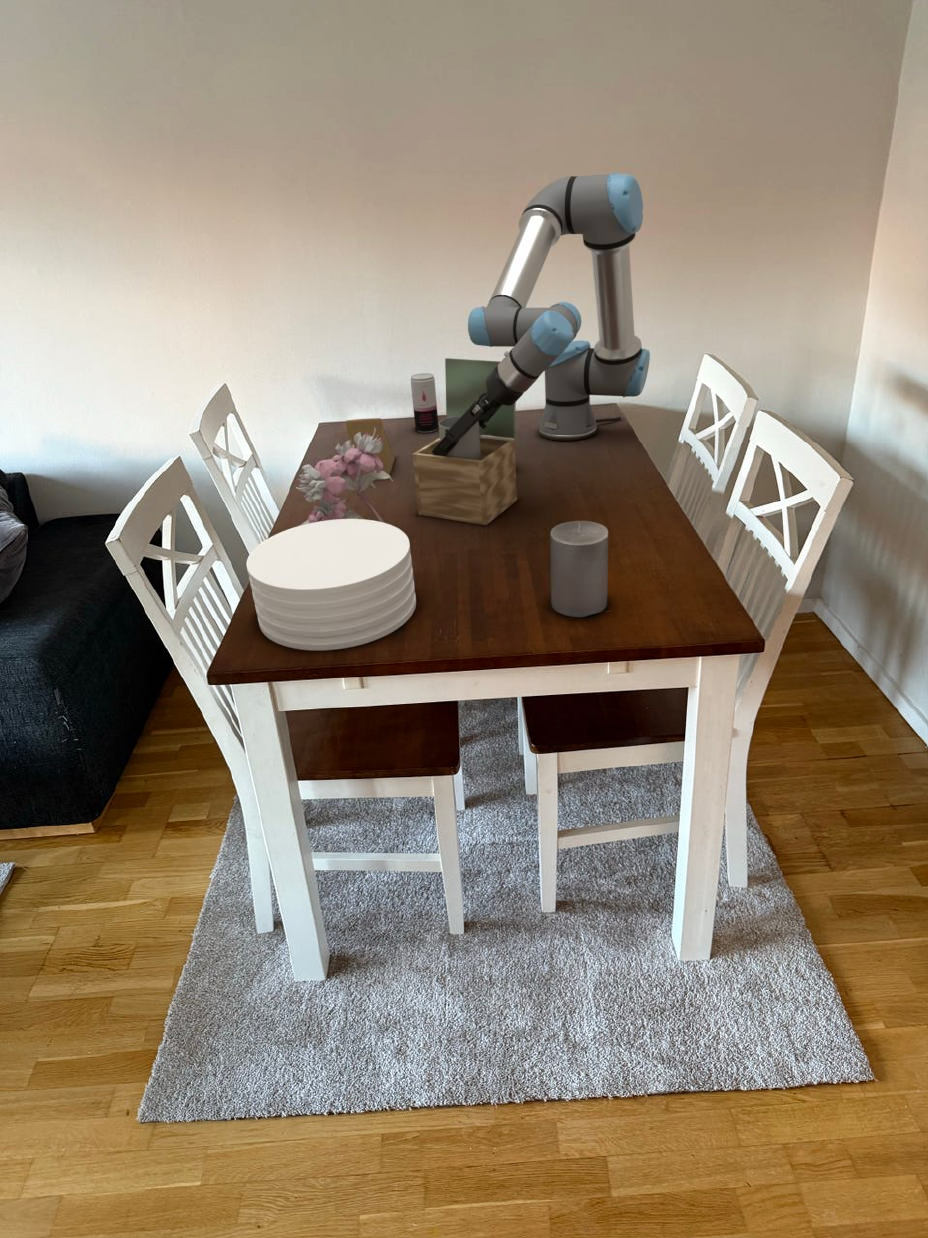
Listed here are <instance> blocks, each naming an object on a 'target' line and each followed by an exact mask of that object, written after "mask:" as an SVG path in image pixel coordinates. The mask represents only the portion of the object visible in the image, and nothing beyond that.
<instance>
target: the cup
mask: <svg viewBox="0 0 928 1238" xmlns="http://www.w3.org/2000/svg"><path fill="white" fill-rule="evenodd" d="M461 417H462V416H455V417H449V418H443V419H441V420H440V421H438V425H439V428H438V432H439V438H440V442H441V440H442V439H443V438H444V437H445V433H446V432H445V430H446V429H448V430H449V429H450V428H451V427H452V426H453V425H454V424H455V423H456V422H457V421H458V420H459V419H460V418H461ZM480 436H481V435H480V433H479V421H478V422H477V423H476V424H475V425H474V426H473V427H472V428H471V429H470V430H468V431H467V432H466V433H465V434H464V435H463V436H462V437H461V438H460V439H459V442H458V443H457V444H456V445H455V446H454V447H453V449H452V450H451V451H450V452H449V453H448V454H447V455H446V457H455V458H463V459H471V460H479V461H481V448H480Z"/></svg>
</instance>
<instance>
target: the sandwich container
mask: <svg viewBox="0 0 928 1238" xmlns="http://www.w3.org/2000/svg"><path fill="white" fill-rule="evenodd" d="M345 424H346V430H347V436H348V441H349V440H350V439H351V447H352V445H353V444H354V448H356V447H357V444H356V442H355V441H354V435H356V434H357V433H359V432H360V433H361V437H362V438H363V436H364V435H365V433H366V434H368V436H369V435H370V437H371V436H373V434H374V428H376V431H375V434H374V439H375V438H376V437H377V435H378V437H377V439H379V438H381V439H380V441H382V442H381V443H382V444H383V446H382V450H381V452H380V453H374V454H373V455H375V456H377V457H379V459H380V460H381V462H382V464H383V470H382V471H384V472H385V473H387V474H388V475H390V474H391V472H392V469H393V467H394V462H395V459H396V457H395V454H394V451H393V449H392V446H391V444H390V441H389V439H388V436H387V433H386V431H385V427H384V423H383V420H382V418H381V417H373V418H370V417H369V418H356V419H355V418H354V419H347V420H345ZM374 439H373V440H374ZM376 441H377V440H376ZM377 442H378V441H377ZM374 471H376V466H375V468H374V470H372V471H369V472H365V471H364V473H361V476H364V475H366V474H369V473H371V472H374Z"/></svg>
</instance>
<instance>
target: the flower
mask: <svg viewBox="0 0 928 1238" xmlns="http://www.w3.org/2000/svg"><path fill="white" fill-rule="evenodd" d="M375 431H376V428H374V434H375ZM374 434H373V436H371V437H370V435H369V436H368V434H366V433H365V435H364V436H363V438H362V437H361V433H360V432H359V433H357V434H356V435H354V441H355V442H356V444H357V447H356V448H354V444H353V445H352V447H351V439H350V440H349V439H348V440H347V441H345V442H344V443H342V446H341V444H340V443H339V442H338V443H337V444H336V446H335V448H334V449H335V451H336V452H337V453H338V454H335V455H333V457H332V458H328V459H322V460H320V461H318V462H317V463H316V465H315V467H313V466H312V465H311V464H309V463H308V464H304V465H303V466H302V467H301V469H302V470H303V471H301V474H299V475H298V477H300V478H296V480H297V481H299V482H300V485H298V487H297V486H295V489H297V490H298V492H303V493H305V495H304V496H303V497H304V499H305V501H307V502H309V503H316V501H317V500H318V505H313V510H311V513H310V514H309V516H308V518H307V520H305V521H304V522H302V523H301V524H300V525H299V526H301V525H305V524H309V523H314V522H320V521H326V520H336V519H365V518H364V517H363V516H361V515H360V514H359V513H357V512H356V511H355V510H353V509H350V510H348V511H347V505H346V504H347V502H350V500H348V499H344V500H341V498H340V497H335V495H342V494H343V493H344V492H345V491H346V490H348V491H353V492H354V493H356V495H357V496H358V497H359V498H360V499H361V500H362V502H363V503H364V504H365V505H366V507H367V508H368V510H369V511H370V512H371V514H372V515H373V516H374V517H375V519H376V521H379V522H383V523H385V521H384V519H382V517H381V516H380V515H379V513H378V512H377V510H376V509H375V508H374V507H373V506H372V504H371V502H370V501H369V499H368V497H367V496H366V494H365V493H364V491H365V490H367V488H369V487H370V486H371V487H372V488H373V489H377V487H376V485H375V483H374V482H375V481H379V480H380V481H381V480H382V481H383V480H389V481H390V482H394V480H393V479H392V477H391V475H390V474H389V475H388V474H387V473H385V472H384V471H382V470H383V464H382V462H381V460H380V459H379V457H377V456H375V455H373V454H374V453H380V452H381V450H382V446H383V444H382V443H381V442H382V441H380V439H381V438H379V439H377V437H378V435H377V437H376V438H375V439H374ZM373 439H374V440H373ZM376 440H377V441H378V442H377V441H376ZM375 466H376V471H374V472H371V473H369V474H366V475H364V476H361V473H364V471H365V472H369V471H372V470H374V468H375ZM332 474H334V475H336V476H331V475H332Z"/></svg>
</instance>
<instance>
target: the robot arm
mask: <svg viewBox="0 0 928 1238" xmlns="http://www.w3.org/2000/svg"><path fill="white" fill-rule="evenodd" d="M643 210H644V202H643V195H642V189H641V187H640V184H639V182H638V180H637V179H636V178H635V177H634V175H633V174H631V173H630V174H629V173H616V172H611V173H606V174H605V173H604V174H592V175H591V174H590V175H575V176H574V175H569V176H563V177H559V178H557V179H555V180H553V181H551V182H550V183H548V184H546V185H545V186H544V187H543V188H541V190H539V191H538V192H537V193H536V194H535V195H534V196H533V198H531V199H530V200H529V202H528V204H527V205H526V206H525V208H524V210H523V211H522V214H521V216H520V218H519V220H518V234H517V236H516V239H515V240H514V241H515V242H514V243H513V246H512V248H511V251H510V253H509V254H508V257H507V259H506V262H505V264H504V266H503V269H502V271H501V273H500V275H499V278H498V281H497V283H496V285H495V288H494V290H493V292H492V294H491V296H490V299H489V301H488V303H487V305H486V306H479V307H474V308H473V309H472V310H471V311H470V312H469V315H468V319H467V333H468V336H469V339H470V341H471V343H473V344H474V345H475V346H480V347H481V346H482V347H489V348H493V347H499V348H501V347H502V348H503V347H504V348H506V347H508V348H509V347H511V350H509V351H507V350H505V352H504V353H503V356H504V358H503V359H502V360H501V362H500V363H499V365H498V366H497V367H495V369H494V370H493V371H492V372H491V373H490V374H489V375H488V377H487V378H486V380H485V385H486V388H487V393H483V394H482V395H481V396H480V397H479V399H478V401H477V402H474V403H473V404H472V405H471V407H470V408H469V409H468V410H467V411H466V412H465V413H464V414H463V415H462V417H461V418H460V419H459V420H458V421H457V422H456V423H455V424H454V425H453V426H452V427H451V428H450V429H449V430H448V429H446V430H445V432H446V433H445V437H444V438H443V439H442V440H441V442H440V443H439V444H438V445H437V446H436V447H435V448H434V450H433V451H432V453H433V454H434V455H438V456H446V455H447V454H448V453H449V452H450V451H451V450H452V449H453V447H454V446H455V445H456V444H457V443H458V442H459V439H460V438H461V437H462V436H463V435H464V434H465V433H466V432H467V431H468V430H470V429H471V428H472V427H473V426H474V425H475V424H476V423H477V422H478V421H479V426H480V427H481V428H482V429H484V428H486V425H485V424H484V423H485V422H488V421H489V420H490V419H491V417H492V416H493V415H494V414H495V413H496V412H497V410H498V409H499V408H500V407H501V406H502V405H506V406H510V405H513V404H514V403H515V402H516V403H517V401H518V400H519V399H520V398H521V397H523V395H524V393H525V392H527V391H528V390H529V389H530V388H531V387H532V386H533V384H535V382H536V381H538V379H539V378H540V377H541V375H542V374H543V373H544V391H545V392H544V394H545V396H544V397H545V405H544V409H543V413H542V416H541V419H540V422H539V427H538V428H539V432H538V433H539V436H540V437H542V438H544V439H547V440H551V441H559V442H572V441H580V440H585V439H589V438H590V437H592V436H594V435H596V433H597V431H598V430H597V427H598V425H597V424H598V423H606V422H616V421H620V420H622V417H621V416H615V417H608V418H597V419H596V417H595V414H594V412H593V409H592V406H591V397H590V396H601V397H602V396H603V397H604V396H605V397H622V398H626V397H627V398H628V397H630V398H635V397H638V396H640V395H641V394H642V393H643V390H644V388H645V385H646V382H647V378H648V372H649V368H650V367H649V366H650V359H651V353H650V349H646V348H643V347H642V346H643V345H642V341H641V339H640V338H639V337H638V336H637V335H635V319H634V303H633V285H632V284H633V283H632V268H631V267H632V266H631V251H630V244H631V243H632V242H633V241H634V240H635V239H636V235H637V234H636V233H638V232H640V231H641V228H642V225H643V219H644V213H643ZM565 235H582V241H583V242H582V243H583V246H584V247H585V248H586V249H588V250H589V251H590V254H591V264H592V276H593V287H594V297H595V299H594V300H595V308H596V309H595V310H596V319H597V328H598V329H597V331H598V339H599V340H597V341H596V343H595V344H594V346H593V347H591V343H590V341H588V340H575V339H576V337H577V336H578V335H577V334H578V333H579V332H580V330H581V327H582V315H581V313H580V310H578V308H577V307H576V306H575V305H574V304H572V303H570V302H567V301H560V302H557V303H554V304H553V305H551V306H549V307H527V305H528V303H529V300H530V298H531V297H532V296H531V295H532V294H533V291H534V290H535V286H536V285H537V282H538V279H539V276H540V274H541V272H542V269H543V267H544V265H545V262H546V260H547V257H548V255H549V252H550V250H551V247H553V246H555V245H556V244H557V243H558V242H559V240H560V238H561V237H562V236H565ZM479 429H480V428H479Z"/></svg>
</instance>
